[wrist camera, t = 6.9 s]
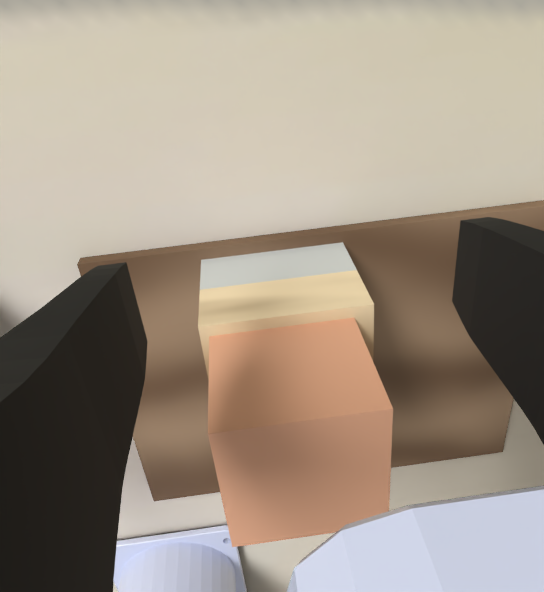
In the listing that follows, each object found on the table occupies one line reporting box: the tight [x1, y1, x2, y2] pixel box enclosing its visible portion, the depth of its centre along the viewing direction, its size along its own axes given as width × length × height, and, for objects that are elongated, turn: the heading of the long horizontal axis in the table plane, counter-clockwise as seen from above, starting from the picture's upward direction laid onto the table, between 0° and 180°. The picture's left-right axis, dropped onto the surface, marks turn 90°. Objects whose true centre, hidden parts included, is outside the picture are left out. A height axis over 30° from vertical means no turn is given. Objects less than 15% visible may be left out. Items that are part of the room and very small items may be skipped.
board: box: [77, 200, 544, 501], centre depth 26 cm, size 15×20×1 cm
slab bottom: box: [200, 242, 357, 290], centre depth 22 cm, size 6×6×2 cm
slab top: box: [198, 270, 374, 380], centre depth 20 cm, size 6×6×2 cm
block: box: [208, 318, 393, 547], centre depth 17 cm, size 5×5×4 cm
